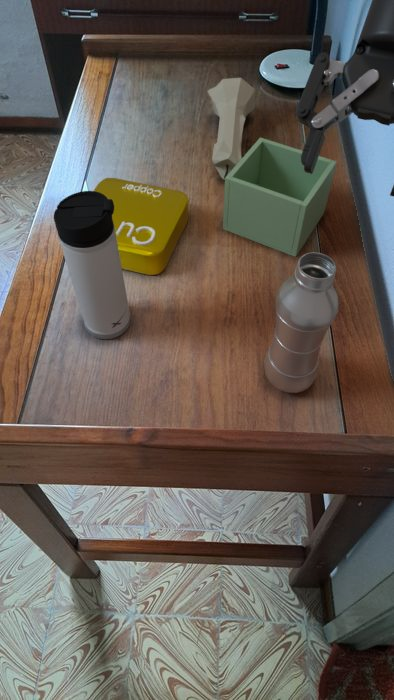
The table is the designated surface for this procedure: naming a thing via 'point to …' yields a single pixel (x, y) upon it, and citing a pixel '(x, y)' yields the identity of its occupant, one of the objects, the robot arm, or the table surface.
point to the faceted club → (230, 121)
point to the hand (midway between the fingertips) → (350, 183)
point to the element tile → (145, 222)
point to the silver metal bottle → (301, 323)
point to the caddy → (276, 196)
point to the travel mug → (94, 262)
